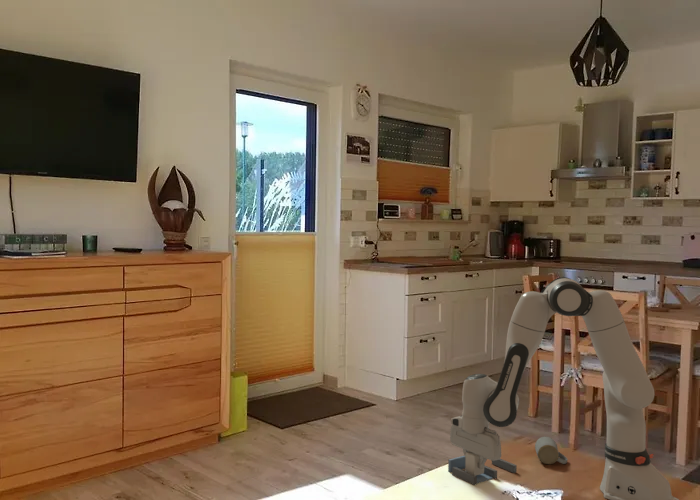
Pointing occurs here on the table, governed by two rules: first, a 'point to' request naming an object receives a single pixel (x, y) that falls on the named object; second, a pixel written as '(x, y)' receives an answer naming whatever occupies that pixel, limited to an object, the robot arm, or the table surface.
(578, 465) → the table surface
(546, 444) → the ceramic mug
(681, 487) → the table surface
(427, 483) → the table surface
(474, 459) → the cord plug
